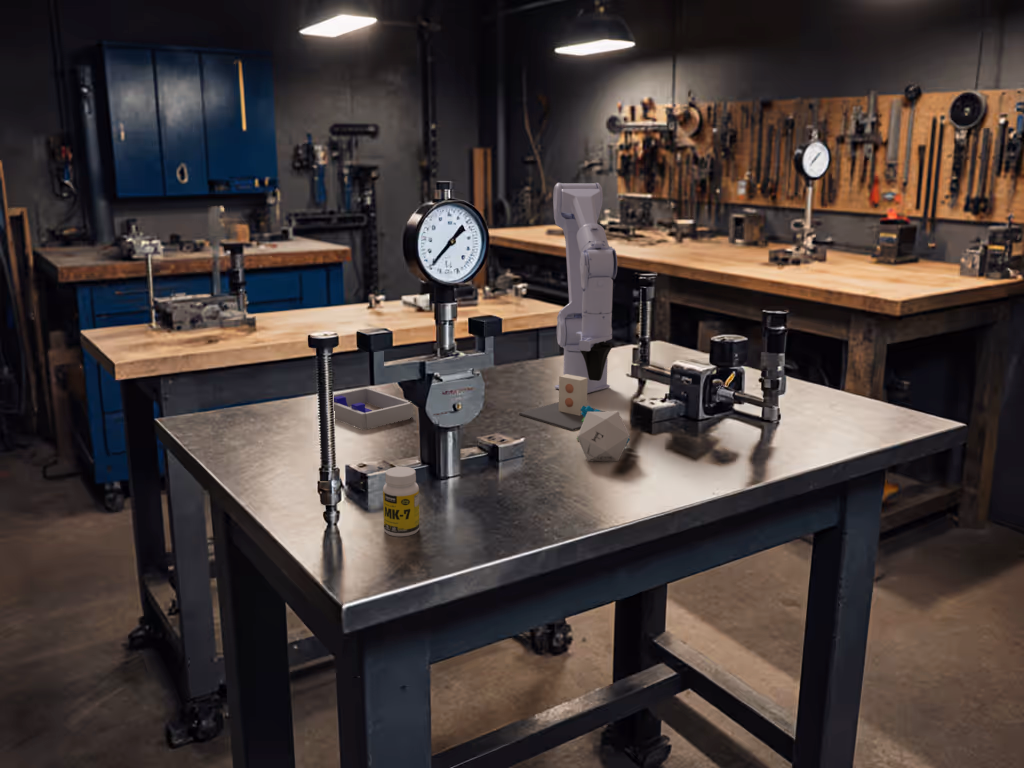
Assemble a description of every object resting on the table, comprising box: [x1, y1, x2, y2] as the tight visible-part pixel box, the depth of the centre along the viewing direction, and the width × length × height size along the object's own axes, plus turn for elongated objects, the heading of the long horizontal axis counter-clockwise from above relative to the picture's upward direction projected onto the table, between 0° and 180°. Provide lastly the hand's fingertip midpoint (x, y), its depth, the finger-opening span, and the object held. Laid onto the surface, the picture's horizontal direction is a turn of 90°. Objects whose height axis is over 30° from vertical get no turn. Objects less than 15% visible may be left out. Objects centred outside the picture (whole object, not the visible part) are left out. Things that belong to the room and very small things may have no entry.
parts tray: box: [333, 387, 414, 431], centre depth 169 cm, size 12×16×3 cm
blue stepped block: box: [334, 396, 373, 413], centre depth 167 cm, size 8×4×4 cm, turn 43°
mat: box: [518, 401, 607, 432], centre depth 170 cm, size 13×14×1 cm
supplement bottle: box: [382, 466, 420, 537], centre depth 117 cm, size 5×5×8 cm
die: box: [576, 411, 631, 462], centre depth 145 cm, size 8×9×10 cm
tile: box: [558, 374, 588, 416], centre depth 170 cm, size 2×5×7 cm, turn 52°
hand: (595, 379), depth 173 cm, fingers closed
